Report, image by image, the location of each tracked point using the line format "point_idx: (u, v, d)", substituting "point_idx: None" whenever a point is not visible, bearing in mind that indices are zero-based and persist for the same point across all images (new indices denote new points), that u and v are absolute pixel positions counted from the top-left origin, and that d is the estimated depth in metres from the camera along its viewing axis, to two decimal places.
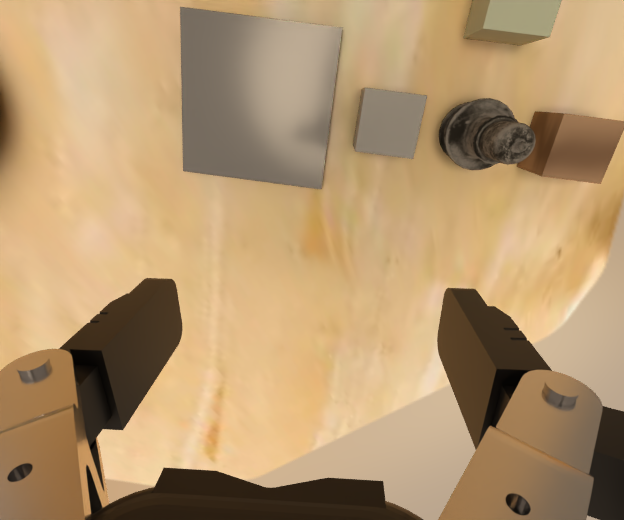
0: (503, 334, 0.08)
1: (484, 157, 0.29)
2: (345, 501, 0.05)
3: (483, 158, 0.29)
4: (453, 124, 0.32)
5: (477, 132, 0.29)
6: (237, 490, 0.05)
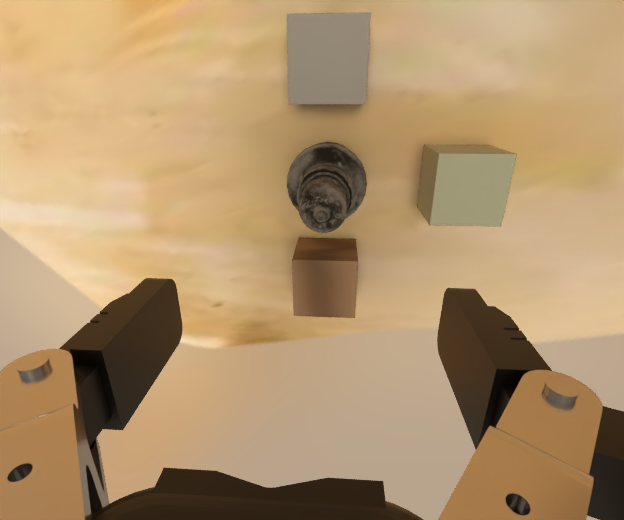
0: (503, 334, 0.08)
1: (302, 187, 0.24)
2: (345, 501, 0.05)
3: (302, 185, 0.24)
4: (335, 149, 0.27)
5: (330, 171, 0.24)
6: (237, 490, 0.05)
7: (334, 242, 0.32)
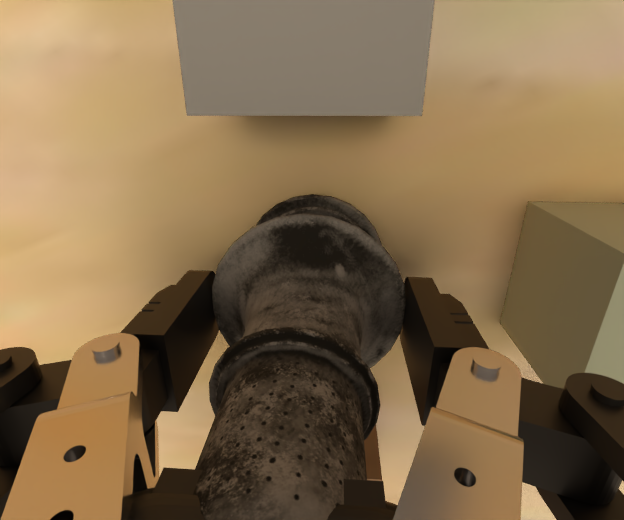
0: (448, 317, 0.09)
1: (223, 380, 0.08)
2: (345, 501, 0.05)
3: (220, 375, 0.08)
4: (328, 230, 0.10)
5: (309, 337, 0.07)
6: None
7: None
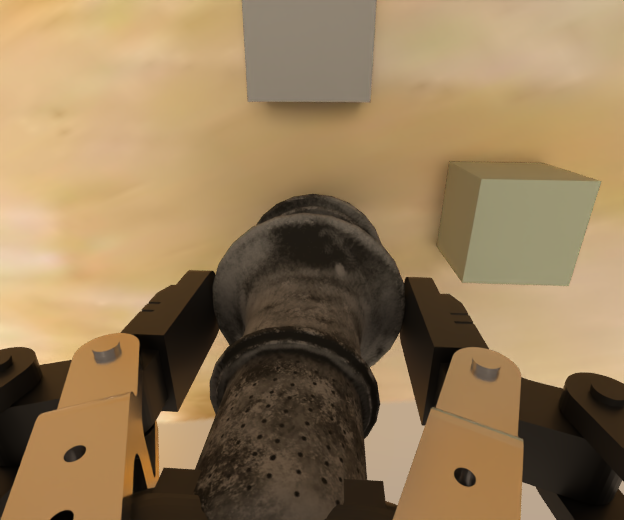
0: (447, 317, 0.09)
1: (223, 378, 0.08)
2: (345, 501, 0.05)
3: (221, 373, 0.08)
4: (328, 230, 0.10)
5: (309, 335, 0.07)
6: None
7: None
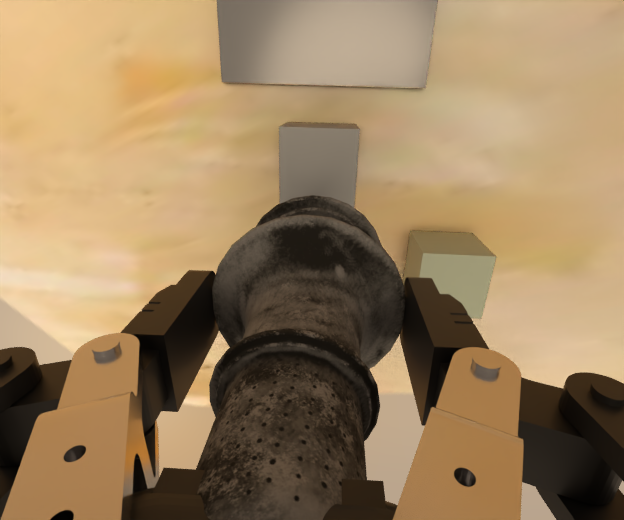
0: (447, 317, 0.09)
1: (223, 381, 0.08)
2: (345, 501, 0.05)
3: (221, 376, 0.08)
4: (328, 231, 0.10)
5: (309, 338, 0.07)
6: None
7: None
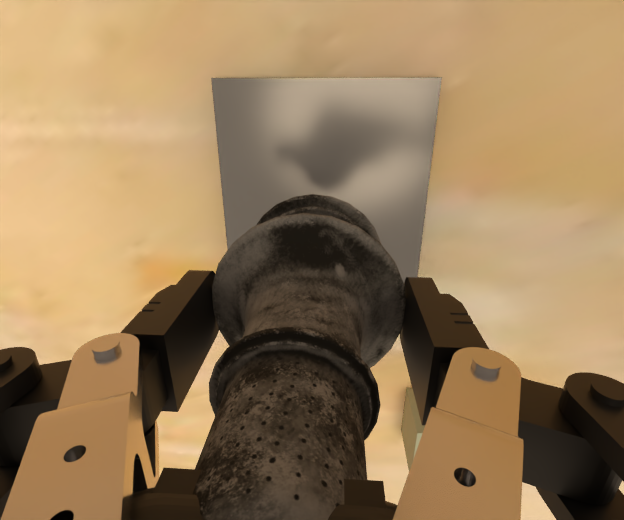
0: (448, 317, 0.09)
1: (223, 380, 0.07)
2: (345, 501, 0.05)
3: (220, 375, 0.08)
4: (328, 230, 0.10)
5: (309, 337, 0.07)
6: None
7: None
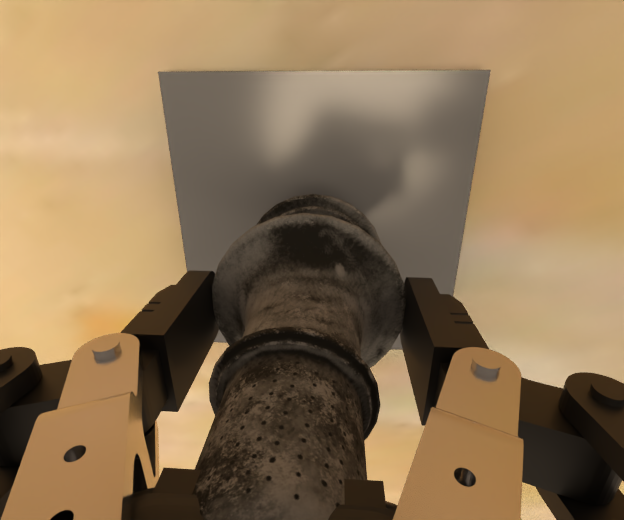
0: (447, 317, 0.09)
1: (223, 379, 0.08)
2: (345, 501, 0.05)
3: (220, 374, 0.08)
4: (328, 230, 0.10)
5: (309, 336, 0.07)
6: None
7: None
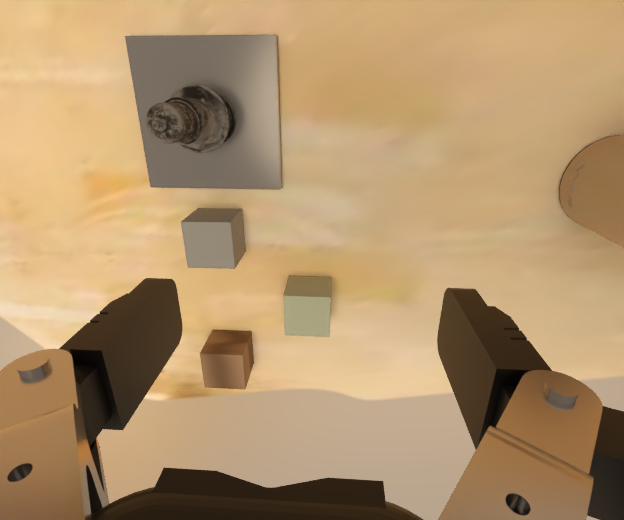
0: (503, 334, 0.08)
1: None
2: (345, 501, 0.05)
3: None
4: (200, 88, 0.33)
5: (181, 98, 0.30)
6: (237, 490, 0.05)
7: (235, 335, 0.47)
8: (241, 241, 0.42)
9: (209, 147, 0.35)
